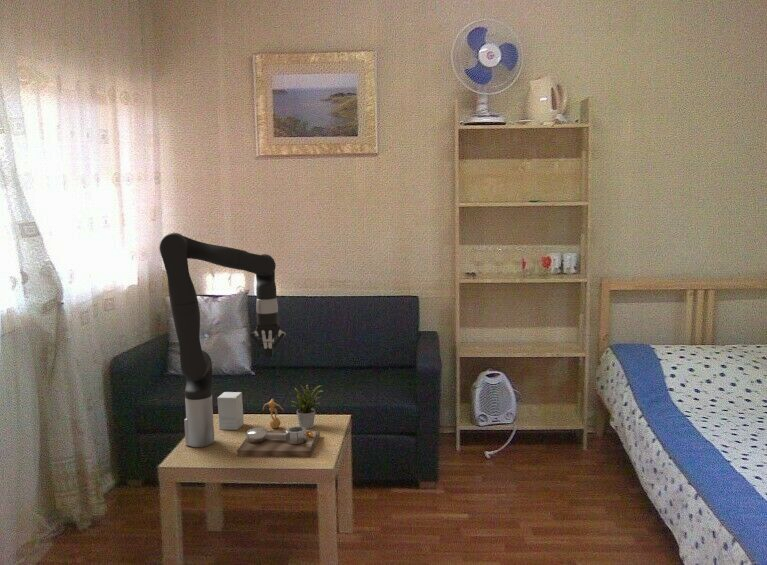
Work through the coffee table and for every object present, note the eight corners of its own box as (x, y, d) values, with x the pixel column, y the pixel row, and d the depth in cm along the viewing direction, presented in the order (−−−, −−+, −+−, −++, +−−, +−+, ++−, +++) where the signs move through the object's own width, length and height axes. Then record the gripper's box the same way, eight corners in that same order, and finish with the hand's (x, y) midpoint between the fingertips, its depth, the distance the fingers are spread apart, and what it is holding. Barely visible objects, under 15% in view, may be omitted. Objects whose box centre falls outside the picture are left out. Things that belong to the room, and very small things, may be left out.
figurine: (287, 426, 268) (286, 396, 267) (282, 432, 263) (281, 400, 261) (266, 425, 270) (265, 395, 268) (261, 431, 264) (259, 400, 262)
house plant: (334, 421, 273) (332, 380, 271) (321, 434, 260) (320, 391, 257) (299, 419, 277) (298, 378, 274) (285, 431, 264) (283, 388, 261)
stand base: (237, 455, 241) (236, 446, 240) (252, 435, 259) (251, 427, 259) (310, 456, 239) (309, 447, 238) (319, 436, 257) (319, 427, 257)
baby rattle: (244, 442, 246) (243, 431, 246) (250, 435, 253) (250, 424, 253) (311, 444, 243) (310, 433, 243) (315, 437, 250) (315, 426, 250)
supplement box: (244, 423, 273) (242, 391, 271) (237, 430, 266) (235, 397, 264) (226, 423, 274) (224, 391, 272) (218, 429, 267) (216, 397, 265)
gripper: (246, 312, 250) (248, 360, 252) (283, 312, 248) (285, 360, 251) (251, 308, 257) (253, 355, 259) (287, 308, 256) (289, 355, 258)
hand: (269, 358), depth 255 cm, fingers closed
